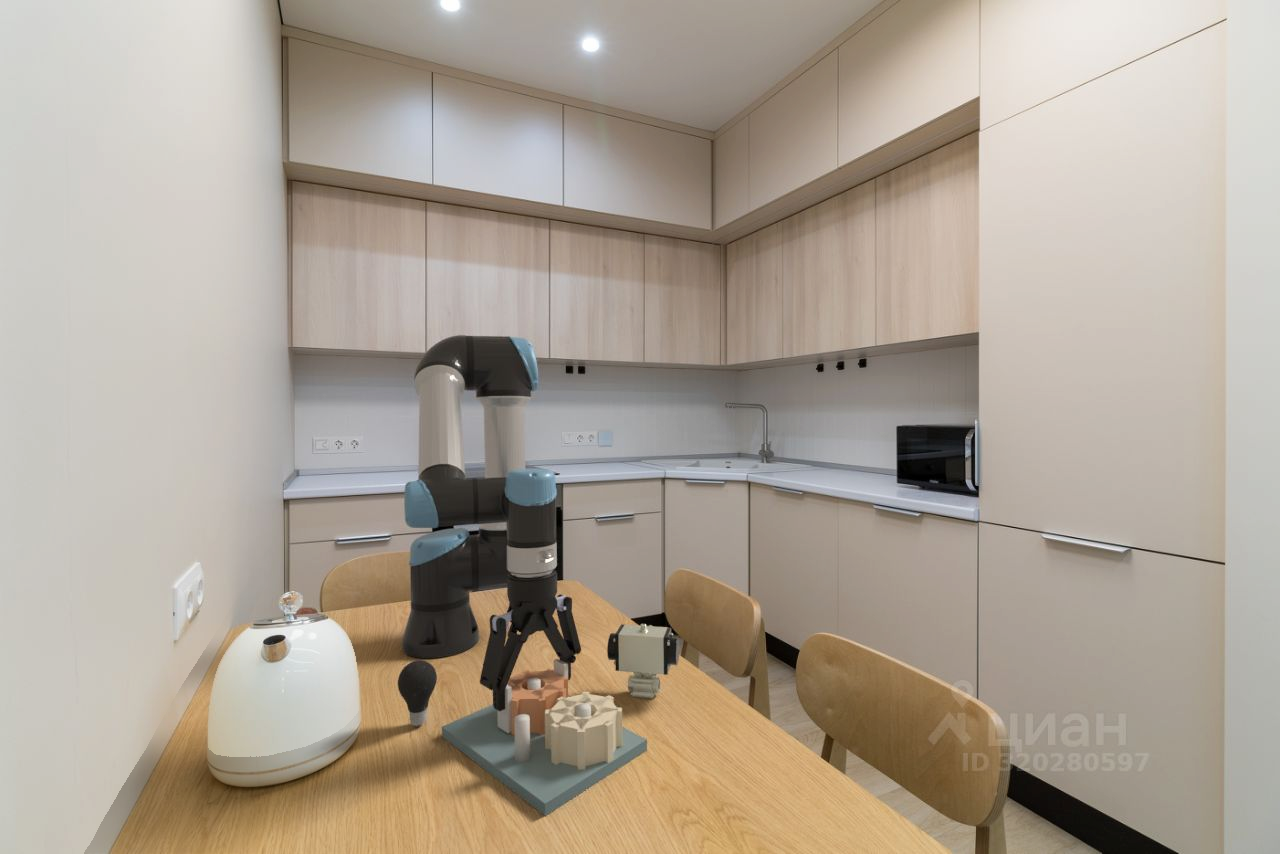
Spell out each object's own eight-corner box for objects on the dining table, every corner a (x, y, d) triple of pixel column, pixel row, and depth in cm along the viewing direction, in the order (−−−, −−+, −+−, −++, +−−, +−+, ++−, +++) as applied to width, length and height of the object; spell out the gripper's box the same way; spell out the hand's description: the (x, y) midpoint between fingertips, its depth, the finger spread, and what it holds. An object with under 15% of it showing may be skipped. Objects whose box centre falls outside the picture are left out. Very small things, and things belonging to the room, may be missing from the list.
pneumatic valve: (676, 704, 94) (675, 631, 94) (607, 697, 96) (606, 627, 96) (680, 688, 100) (680, 619, 99) (615, 682, 102) (614, 615, 102)
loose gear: (486, 717, 88) (485, 685, 87) (540, 693, 95) (540, 663, 95) (525, 743, 81) (525, 708, 80) (581, 715, 88) (581, 683, 88)
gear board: (442, 736, 85) (441, 690, 85) (539, 692, 98) (539, 652, 98) (545, 816, 68) (544, 758, 68) (647, 749, 81) (646, 701, 81)
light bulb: (445, 719, 90) (444, 656, 90) (420, 738, 85) (419, 672, 85) (416, 713, 92) (414, 652, 92) (390, 732, 87) (388, 667, 86)
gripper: (480, 593, 77) (483, 757, 77) (602, 560, 93) (604, 696, 93) (451, 582, 82) (454, 736, 82) (572, 553, 98) (574, 681, 99)
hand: (534, 714), depth 88 cm, fingers open, 10 cm apart
